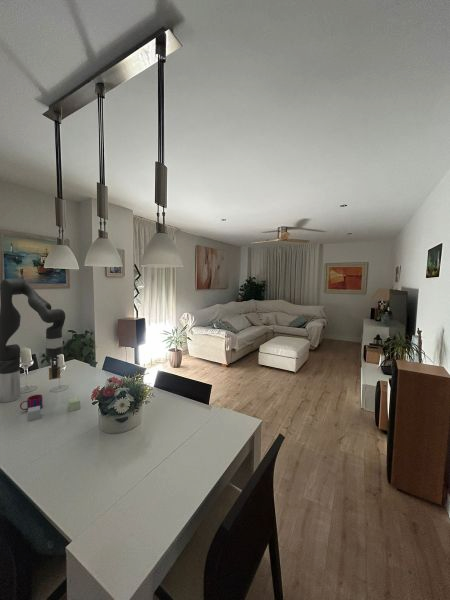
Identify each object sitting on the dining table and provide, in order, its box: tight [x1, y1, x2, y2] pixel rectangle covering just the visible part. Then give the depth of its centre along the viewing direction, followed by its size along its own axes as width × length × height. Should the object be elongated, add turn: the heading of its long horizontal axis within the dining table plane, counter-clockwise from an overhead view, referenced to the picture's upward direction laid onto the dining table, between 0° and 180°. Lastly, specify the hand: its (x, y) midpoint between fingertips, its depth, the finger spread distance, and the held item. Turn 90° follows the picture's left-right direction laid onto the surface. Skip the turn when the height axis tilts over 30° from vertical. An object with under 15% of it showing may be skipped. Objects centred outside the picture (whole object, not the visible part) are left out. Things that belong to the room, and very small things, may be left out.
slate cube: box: [27, 406, 41, 422], centre depth 126 cm, size 5×5×5 cm
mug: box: [19, 394, 43, 411], centre depth 134 cm, size 7×10×7 cm
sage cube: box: [68, 396, 81, 412], centre depth 137 cm, size 5×5×5 cm
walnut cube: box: [48, 365, 61, 380], centre depth 130 cm, size 5×5×5 cm
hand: (54, 376), depth 131 cm, fingers closed on walnut cube, 5 cm apart
